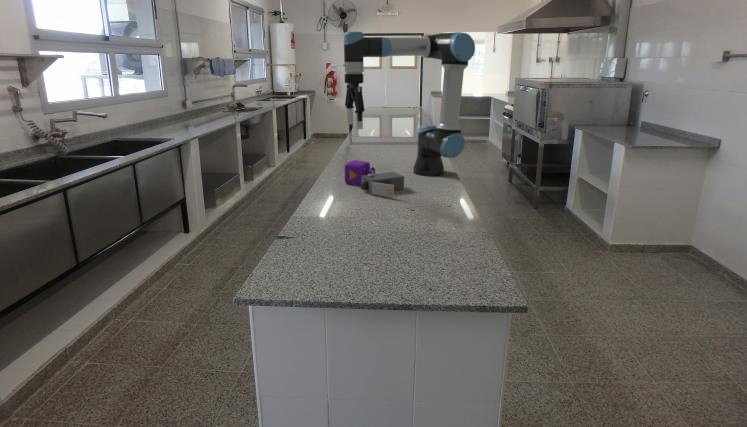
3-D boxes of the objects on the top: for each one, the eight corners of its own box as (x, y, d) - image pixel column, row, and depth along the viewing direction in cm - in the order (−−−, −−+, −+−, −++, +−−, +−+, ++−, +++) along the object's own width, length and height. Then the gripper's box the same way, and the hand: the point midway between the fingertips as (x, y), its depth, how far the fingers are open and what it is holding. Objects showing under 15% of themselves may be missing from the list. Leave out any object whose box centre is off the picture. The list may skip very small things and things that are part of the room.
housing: (393, 184, 219) (393, 170, 217) (403, 189, 212) (404, 174, 210) (358, 189, 212) (358, 174, 210) (367, 194, 204) (367, 179, 202)
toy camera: (373, 187, 216) (373, 165, 212) (343, 185, 218) (342, 163, 215) (377, 181, 226) (378, 159, 222) (349, 179, 228) (348, 158, 225)
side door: (393, 197, 200) (394, 184, 198) (392, 198, 199) (392, 185, 197) (371, 193, 205) (371, 181, 203) (369, 194, 203) (369, 182, 202)
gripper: (337, 71, 204) (338, 122, 211) (353, 74, 182) (354, 131, 189) (354, 71, 207) (355, 121, 214) (372, 74, 184) (372, 130, 191)
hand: (354, 126), depth 201 cm, fingers open, 13 cm apart
